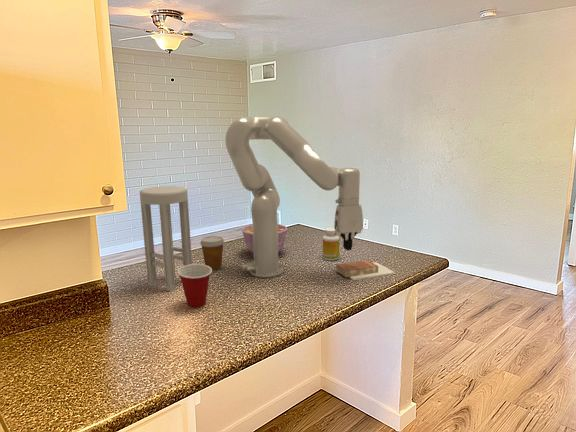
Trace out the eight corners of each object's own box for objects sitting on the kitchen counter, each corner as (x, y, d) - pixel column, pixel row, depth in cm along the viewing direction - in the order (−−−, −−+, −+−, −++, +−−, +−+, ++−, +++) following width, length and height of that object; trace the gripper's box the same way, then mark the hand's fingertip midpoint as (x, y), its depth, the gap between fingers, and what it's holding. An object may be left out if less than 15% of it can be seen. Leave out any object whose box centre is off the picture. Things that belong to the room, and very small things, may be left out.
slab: (346, 271, 157) (378, 266, 162) (336, 264, 165) (367, 259, 170) (345, 277, 158) (378, 272, 163) (336, 270, 165) (367, 265, 170)
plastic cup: (193, 314, 131) (191, 277, 128) (173, 305, 137) (170, 270, 135) (220, 303, 139) (219, 268, 136) (200, 294, 145) (198, 261, 143)
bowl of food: (236, 250, 194) (235, 226, 191) (276, 244, 202) (276, 221, 199) (251, 263, 176) (251, 236, 174) (295, 256, 184) (295, 231, 182)
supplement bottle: (339, 260, 178) (340, 231, 176) (322, 260, 179) (323, 231, 176) (338, 255, 185) (338, 227, 183) (321, 255, 186) (322, 227, 183)
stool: (171, 273, 166) (164, 184, 158) (201, 280, 159) (195, 187, 151) (139, 286, 153) (130, 190, 146) (170, 294, 146) (162, 194, 138)
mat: (353, 280, 156) (353, 278, 156) (337, 269, 168) (337, 267, 168) (394, 273, 163) (394, 272, 163) (376, 263, 175) (376, 262, 174)
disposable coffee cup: (227, 263, 176) (226, 235, 174) (222, 271, 167) (220, 242, 164) (205, 263, 177) (203, 235, 175) (198, 271, 168) (196, 242, 165)
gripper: (335, 205, 150) (334, 254, 154) (371, 201, 156) (370, 249, 160) (325, 201, 157) (325, 248, 161) (361, 198, 162) (359, 244, 166)
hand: (347, 249), depth 160 cm, fingers closed
